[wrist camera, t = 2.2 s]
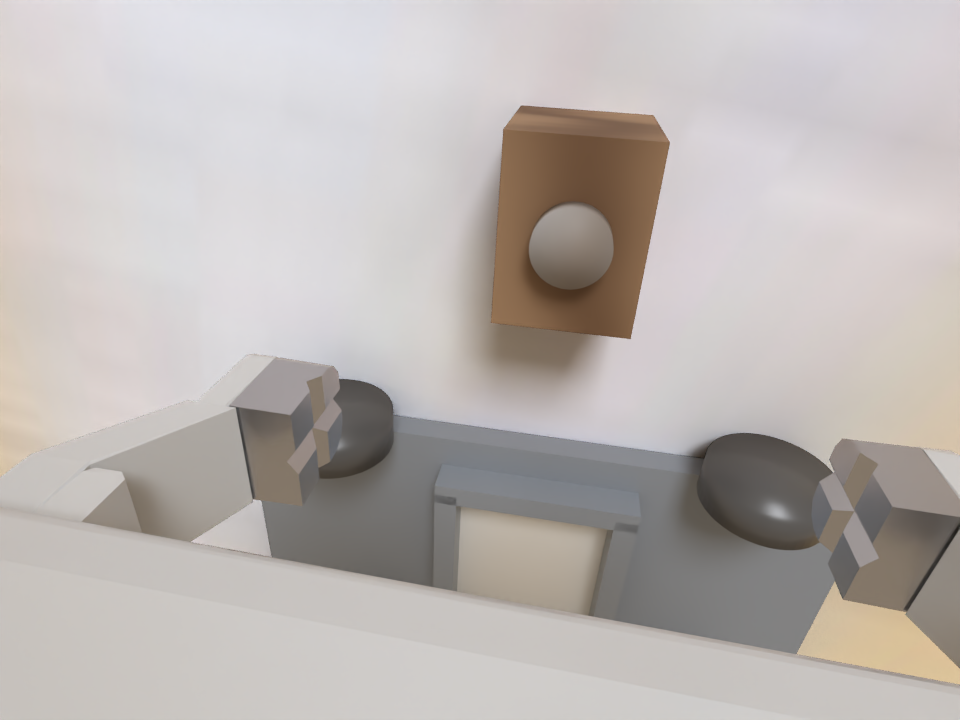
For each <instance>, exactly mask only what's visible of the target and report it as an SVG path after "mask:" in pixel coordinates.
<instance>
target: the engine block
mask: <svg viewBox="0 0 960 720" xmlns="http://www.w3.org/2000/svg"><path fill="white" fill-rule="evenodd" d="M669 144H670V142H669V140H668V138H667V137H666V135H665V134H664V132H663V130H662V129H661V127H660V125H659V124H658V122H657V120H656V119H655V117H654V115H642V114H628V113H615V112H601V111H588V110H574V109H561V108H547V107H534V106H520V108H519V109H518V111H517V112H516V113H515V115H514V116H513V117H512V119H511V120H510V121H509V123H508V124H507V125H506V127H505V128H504V129H503V144H502V160H501V175H500V191H499V207H498V222H497V238H496V254H495V269H494V285H493V300H492V316H491V323H497V324H506V325H514V326H523V327H532V328H540V329H549V330H558V331H566V332H575V333H584V334H592V335H601V336H610V337H618V338H627V339H631V334H632V329H633V324H634V319H635V314H636V309H637V304H638V299H639V294H640V289H641V284H642V279H643V274H644V269H645V264H646V259H647V254H648V249H649V244H650V239H651V234H652V229H653V224H654V219H655V214H656V209H657V204H658V199H659V194H660V189H661V184H662V179H663V174H664V169H665V164H666V159H667V154H668V149H669Z"/></svg>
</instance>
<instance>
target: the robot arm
mask: <svg viewBox="0 0 960 720" xmlns="http://www.w3.org/2000/svg"><path fill="white" fill-rule="evenodd" d="M339 389H340V384H339V375H338V371H337V370H336V369H335V367H334V366H329V365H323V364H317V363H310V362H304V361H298V360H292V359H286V358H278V357H274V356H266V355H258V354H249V355H246V356H245V357H244V358H243V359H242V360H241V361H240V362H238V363H237V364H236V365H235V366H234V367H233V368H232V369H231V370H230V371H229V372H228V373H227V374H226V375H224V376H223V377H222V378H221V379H220V380H219V381H218V382H217V383H216V384H215V385H214V386H213V387H212V388H210V389H209V390H208V391H207V392H206V393H205V394H204V395H203V396H202V397H201V398H200V399H199V400H198V401H189V400H187V401H184V402H181V403H178V404H175V405H172V406H170V407H167V408H164V409H161V410H158V411H155V412H152V413H149V414H146V415H143V416H140V417H137V418H135V419H132V420H129V421H126V422H123V423H120V424H117V425H114V426H111V427H108V428H105V429H102V430H100V431H97V432H94V433H91V434H88V435H85V436H82V437H79V438H76V439H73V440H70V441H67V442H65V443H62V444H59V445H56V446H53V447H50V448H47V449H44V450H41V451H38V452H35V453H32V454H30V455H29V456H28V457H26V458H25V459H24V460H22V461H21V462H20V463H18V464H17V465H16V466H15V467H13V468H12V469H11V470H9V471H8V472H7V473H5V474H4V475H3V476H1V477H0V720H960V685H959V684H954V683H948V682H943V681H938V680H932V679H927V678H921V677H916V676H911V675H905V674H900V673H895V672H889V671H884V670H878V669H873V668H868V667H862V666H857V665H852V664H846V663H841V662H835V661H830V660H825V659H819V658H814V657H809V656H803V655H798V654H793V653H787V652H782V651H776V650H771V649H766V648H760V647H755V646H750V645H744V644H739V643H733V642H728V641H723V640H717V639H712V638H707V637H701V636H696V635H690V634H685V633H680V632H674V631H669V630H664V629H658V628H653V627H647V626H642V625H636V624H631V623H625V622H620V621H615V620H609V619H604V618H598V617H593V616H587V615H582V614H576V613H571V612H566V611H560V610H555V609H549V608H544V607H538V606H533V605H527V604H522V603H516V602H511V601H506V600H500V599H495V598H489V597H484V596H478V595H473V594H467V593H462V592H457V591H451V590H446V589H441V588H435V587H430V586H424V585H419V584H414V583H408V582H403V581H397V580H392V579H387V578H381V577H376V576H370V575H365V574H360V573H354V572H349V571H344V570H338V569H333V568H327V567H322V566H317V565H311V564H306V563H300V562H295V561H290V560H284V559H279V558H273V557H268V556H263V555H257V554H252V553H247V552H241V551H236V550H230V549H225V548H220V547H214V546H209V545H203V544H198V543H193V542H191V541H192V540H194V539H195V538H197V537H199V536H200V535H202V534H203V533H205V532H206V531H208V530H210V529H211V528H213V527H214V526H216V525H217V524H219V523H221V522H222V521H224V520H225V519H227V518H228V517H230V516H232V515H233V514H235V513H236V512H238V511H239V510H241V509H243V508H244V507H246V506H247V505H249V504H250V503H252V502H253V499H255V500H262V501H269V502H276V503H283V504H290V505H297V506H303V505H304V503H305V502H306V500H307V498H308V497H309V495H310V494H311V492H312V490H313V489H314V487H315V486H316V484H317V482H318V481H319V469H318V468H319V467H321V466H323V465H325V464H327V463H329V462H330V461H331V460H332V458H333V456H334V454H335V453H336V451H337V448H338V445H339V441H340V438H341V434H342V422H343V421H342V410H341V408H340V407H339V406H338V405H337V403H336V402H335V401H334V399H333V398H334V397H335V395H336V394H337V392H338V391H339ZM829 460H830V462H831V465H832V467H833V469H834V471H835V472H834V473H832V474H831V475H829V476H827V477H826V478H824V479H823V480H821V481H819V484H818V486H817V489H816V491H815V494H814V496H813V502H812V513H811V517H812V523H813V528H814V531H815V534H816V536H817V539H818V541H819V542H820V543H822V544H823V545H824V546H825V547H826V548H827V549H829V550H830V551H831V552H832V556H831V558H830V560H829V562H828V565H829V568H830V570H831V573H832V575H833V577H834V580H835V582H836V584H837V587H838V589H839V591H840V594H841V596H842V598H843V600H848V601H853V602H858V603H863V604H868V605H873V606H878V607H883V608H888V609H893V610H898V611H903V612H907V613H906V614H905V615H906V616H907V617H908V618H909V619H910V620H911V621H912V622H913V623H914V624H915V625H916V626H917V627H918V628H919V629H920V630H921V631H922V632H923V633H924V634H925V635H926V636H927V637H928V638H929V639H930V640H931V641H932V642H933V643H935V644H936V645H937V646H938V647H939V648H940V649H941V650H942V651H943V652H944V653H945V654H946V655H947V656H948V657H949V658H950V659H951V660H952V661H953V662H954V663H955V664H956V665H957V666H958V667H959V668H960V455H958V454H956V453H954V452H952V451H949V450H939V449H930V448H921V447H909V446H900V445H892V444H883V443H875V442H867V441H858V440H850V439H842V440H841V441H840V442H839V443H838V444H837V445H836V446H835V448H834V450H833V452H832V454H831V457H830V459H829Z"/></svg>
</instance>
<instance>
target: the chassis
mask: <svg viewBox="0 0 960 720" xmlns="http://www.w3.org/2000/svg"><path fill="white" fill-rule="evenodd" d="M339 384H340V389H339V391H338V392H337V394H336V395H335V397H334V398H333V399H334V401H335V402H336V403H337V405H338V406H339V407H340V408H341V410H342V421H343V422H342V434H341V438H340V441H339V445H338V448H337V451H336V453H335V454H334V456H333V458H332V460H331V461H330V462H329V463H327V464H325V465H323V466H321V467H319V468H318V469H319V481H318V482H317V484H316V486H315V487H314V489H313V490H312V492H311V494H310V495H309V497H308V498H307V500H306V502H305V503H304V505H303V506H297V505H290V504H283V503H276V502H269V501H262V506H263V511H264V517H265V522H266V528H267V533H268V539H269V544H270V550H271V555H272V557H273V558H279V559H284V560H290V561H295V562H300V563H306V564H311V565H317V566H322V567H327V568H333V569H338V570H344V571H349V572H354V573H360V574H365V575H370V576H376V577H381V578H387V579H392V580H397V581H403V582H408V583H414V584H419V585H424V586H430V587H435V588H441V589H446V590H451V591H457V592H462V593H467V594H473V595H478V596H484V597H489V598H495V599H500V600H506V601H511V602H516V603H522V604H527V605H533V606H538V607H544V608H549V609H555V610H560V611H566V612H571V613H576V614H582V615H587V616H593V617H598V618H604V619H609V620H615V621H620V622H625V623H631V624H636V625H642V626H647V627H653V628H658V629H664V630H669V631H674V632H680V633H685V634H690V635H696V636H701V637H707V638H712V639H717V640H723V641H728V642H733V643H739V644H744V645H750V646H755V647H760V648H766V649H771V650H776V651H782V652H787V653H793V654H797V652H798V650H799V648H800V646H801V644H802V642H803V640H804V638H805V636H806V634H807V633H808V631H809V629H810V627H811V625H812V623H813V621H814V619H815V617H816V615H817V614H818V612H819V610H820V608H821V606H822V604H823V602H824V600H825V598H826V596H827V594H828V593H829V591H830V589H831V587H832V585H833V583H834V581H835V580H834V577H833V575H832V573H831V570H830V568H829V565H828V562H829V560H830V558H831V556H832V552H831V551H830V550H829V549H827V548H826V547H825V546H824V545H823V544H822V543H820V542H819V541H818V539H817V536H816V534H815V531H814V528H813V523H812V517H811V513H812V502H813V496H814V494H815V491H816V489H817V486H818V484H819V481H821V480H823V479H824V478H826V477H827V476H829V475H831V474H832V473H833V472H832V471H831V470H830V469H829V468H828V467H827V466H826V465H825V464H824V463H823V462H821V461H820V460H819V459H818V458H816V457H815V456H813V455H812V454H810V453H809V452H807V451H805V450H803V449H801V448H800V447H798V446H795V445H793V444H791V443H788V442H786V441H783V440H780V439H777V438H774V437H770V436H765V435H759V434H751V433H737V434H730V435H726V436H723V437H720V438H718V439H717V440H715V441H714V442H713V443H712V444H711V445H710V446H709V447H708V449H707V452H706V456H705V459H702V458H695V457H688V456H681V455H674V454H667V453H659V452H652V451H645V450H638V449H631V448H624V447H617V446H609V445H602V444H595V443H588V442H581V441H574V440H567V439H559V438H552V437H545V436H538V435H531V434H524V433H517V432H509V431H502V430H495V429H488V428H481V427H474V426H467V425H459V424H452V423H445V422H438V421H431V420H424V419H416V418H409V417H402V416H395V415H393V405H392V402H391V400H390V398H389V396H388V395H387V394H386V393H385V392H384V391H382V390H381V389H379V388H378V387H376V386H374V385H371V384H369V383H366V382H362V381H356V380H348V379H339Z"/></svg>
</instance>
